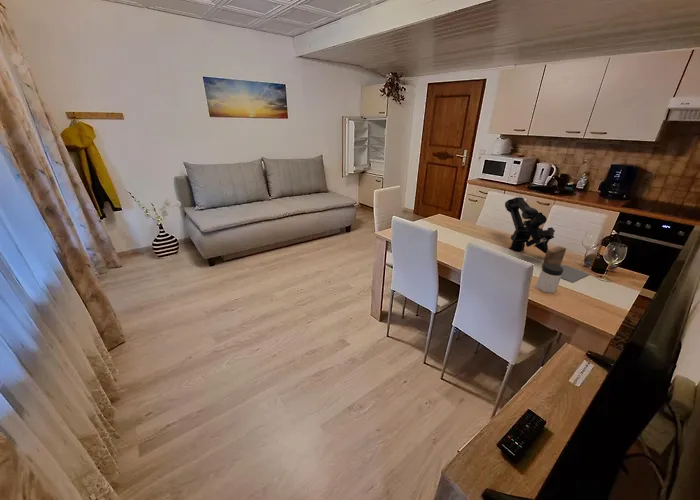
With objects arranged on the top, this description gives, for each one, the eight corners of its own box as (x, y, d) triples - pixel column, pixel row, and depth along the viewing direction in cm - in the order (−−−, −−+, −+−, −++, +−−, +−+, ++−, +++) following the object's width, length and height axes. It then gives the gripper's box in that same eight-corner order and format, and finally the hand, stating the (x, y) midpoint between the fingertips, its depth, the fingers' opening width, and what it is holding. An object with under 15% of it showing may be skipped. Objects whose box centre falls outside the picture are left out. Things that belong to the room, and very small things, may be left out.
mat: (546, 272, 161) (546, 271, 161) (563, 265, 169) (564, 264, 169) (572, 282, 151) (572, 282, 151) (589, 274, 159) (589, 274, 159)
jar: (537, 291, 143) (545, 269, 138) (533, 282, 150) (540, 261, 145) (558, 294, 141) (567, 272, 136) (553, 286, 148) (561, 264, 143)
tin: (582, 266, 168) (587, 253, 165) (581, 264, 171) (586, 251, 167) (615, 273, 162) (621, 259, 159) (613, 270, 165) (619, 257, 161)
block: (541, 267, 166) (547, 249, 162) (552, 263, 172) (558, 246, 167) (548, 270, 163) (554, 252, 158) (560, 266, 168) (566, 248, 164)
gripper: (537, 225, 160) (551, 251, 156) (555, 220, 169) (570, 245, 165) (519, 234, 170) (533, 258, 166) (538, 229, 178) (551, 252, 174)
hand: (547, 253), depth 167 cm, fingers closed
